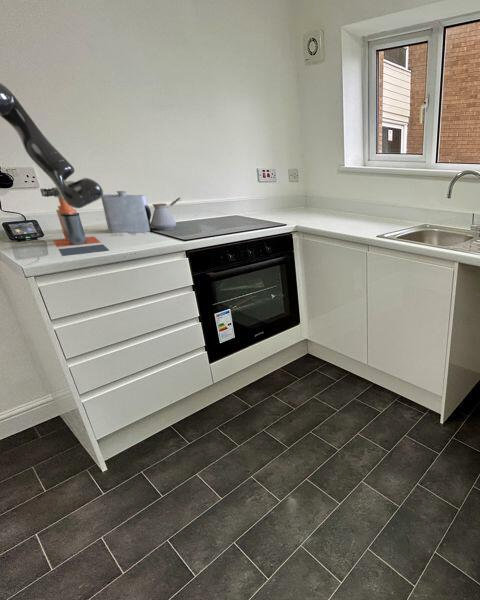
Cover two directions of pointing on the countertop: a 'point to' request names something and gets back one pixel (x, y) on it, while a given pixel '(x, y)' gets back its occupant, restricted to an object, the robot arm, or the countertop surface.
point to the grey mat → (83, 250)
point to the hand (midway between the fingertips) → (65, 191)
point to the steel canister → (73, 228)
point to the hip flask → (125, 213)
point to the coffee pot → (163, 217)
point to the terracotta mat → (66, 243)
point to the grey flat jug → (144, 204)
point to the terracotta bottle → (64, 209)
